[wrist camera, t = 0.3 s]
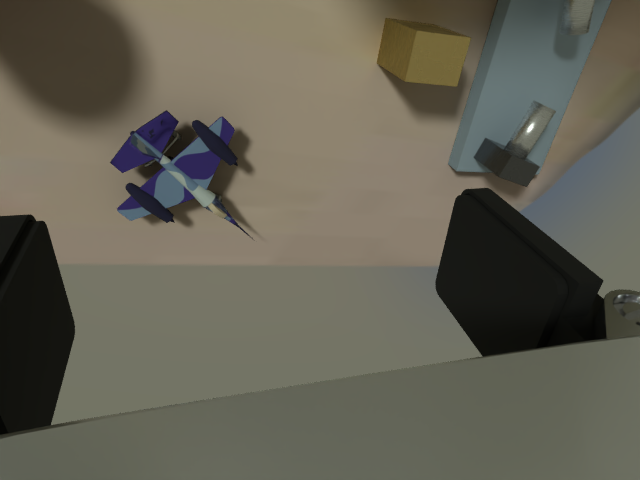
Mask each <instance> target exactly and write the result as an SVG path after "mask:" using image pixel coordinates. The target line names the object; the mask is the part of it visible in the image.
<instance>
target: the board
mask: <svg viewBox="0 0 640 480" xmlns="http://www.w3.org/2000/svg"><path fill="white" fill-rule="evenodd" d="M564 2H565V0H498V2H497V5H496V9H495V12H494V15H493V18H492V22H491V25H490V28H489V32H488V35H487V38H486V41H485V45H484V48H483V51H482V54H481V58H480V61H479V64H478V68H477V71H476V74H475V77H474V81H473V84H472V87H471V90H470V94H469V97H468V100H467V104H466V107H465V110H464V113H463V117H462V120H461V123H460V126H459V130H458V133H457V136H456V139H455V143H454V146H453V149H452V153H451V156H450V159H449V162H448V164H449V165H450V166H451V167H452V168H453V169H455V170H456V171H466V172H492V171H490V170H489V169H488V168H487V167H485V166H484V165H483V164H481V163H480V162H479V161H477V160H476V159H475V158H474V156H475V154H476V152H477V151H478V149H479V147H480V146H481V144H482V142H483V141H484V139H485V138H488V139H490V140H493V141H495V142H498V143H500V144H502V145H505V146H506V145H507V143H508V141H509V140H510V138H511V136H512V135H513V133H514V132H515V130H516V128H517V127H518V125H519V123H520V122H521V120H522V118H523V117H524V115H525V114H526V112H527V110H528V109H529V107H530V105H531V104H532V102H533V101H536V102H538V103H540V104H542V105H545V106H547V107H549V108H551V109H553V110H555V111H556V112H555V114H554V115H553V117H552V119H551V120H550V122H549V123H548V125H547V126H546V128H545V129H544V131H543V133H542V134H541V136H540V137H539V139H538V140H537V142H536V143H535V145H534V147H533V148H532V150H531V151H530V153H529V154H528V156H527V158H528V159H529V160H531V161H532V162H534V163H535V164H537V165H539V166H540V168H539V169H538V171H537V172H536V174H539V172H540V170H541V168H542V165H543V163H544V160H545V158H546V156H547V153H548V151H549V148H550V146H551V144H552V141H553V139H554V136H555V134H556V132H557V129H558V127H559V125H560V122H561V120H562V117H563V115H564V113H565V110H566V108H567V105H568V103H569V101H570V98H571V96H572V93H573V91H574V89H575V86H576V84H577V81H578V79H579V77H580V74H581V72H582V70H583V67H584V65H585V62H586V60H587V58H588V55H589V53H590V50H591V48H592V46H593V43H594V41H595V38H596V36H597V34H598V31H599V29H600V26H601V24H602V22H603V19H604V17H605V15H606V12H607V10H608V7H609V5H610V3H611V0H595V3H594V8H593V13H592V18H591V23H590V27H589V32H588V33H586V34H582V35H563V34H560V33H559V32H560V26H561V20H562V14H563V8H564ZM492 173H493V172H492Z"/></svg>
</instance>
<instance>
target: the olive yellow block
mask: <svg viewBox="0 0 640 480" xmlns="http://www.w3.org/2000/svg"><path fill="white" fill-rule="evenodd" d="M470 40H471V38H470V37H467V36H465V35H462V34H459V33H456V32H453V31H451V30H448V29H445V28H442V27H439V26H437V25H433V24H426V23H419V22H411V21H404V20H397V19H390V18H386V19H385V24H384V29H383V34H382V39H381V44H380V49H379V54H378V59H377V64H379V65H380V66H382V67H383V68H385V69H387V70H388V71H390V72H391V73H393V74H394V75H396V76H397V77H399V78H400V79H402V80H403V81H405V82H414V83H424V84H435V85H445V86H455V87H457V85H458V81H459V78H460V74H461V71H462V67H463V64H464V61H465V57H466V54H467V50H468V47H469V43H470Z"/></svg>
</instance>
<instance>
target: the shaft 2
mask: <svg viewBox="0 0 640 480" xmlns="http://www.w3.org/2000/svg"><path fill="white" fill-rule="evenodd" d="M594 3H595V0H565V2H564V8H563V14H562V20H561V26H560V32H559V33H560V34H563V35H582V34H586V33H588V32H589V27H590V23H591V18H592V13H593V8H594Z"/></svg>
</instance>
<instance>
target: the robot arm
mask: <svg viewBox="0 0 640 480" xmlns="http://www.w3.org/2000/svg"><path fill="white" fill-rule="evenodd" d="M602 283H603V280H602V279H601V278H599V277H598V276H597V275H596V274H595V273H593V272H592V271H591V270H589V268H587V267H586V266H585V265H584V264H582V263H581V262H580V261H578V260H577V259H576V258H575V257H574V256H572V255H571V254H570V253H569V252H567V251H566V250H565V249H564V248H562V247H561V246H560V245H559V244H558V243H556V242H555V241H554V240H552V239H551V238H550V237H549V236H547V235H546V234H545V233H544V232H543V231H541V230H540V229H539V228H538V227H536V226H535V225H534V224H533V223H532V222H530V221H529V220H528V219H527V218H525V217H524V216H523V215H521V214H520V213H519V212H518V211H517V210H515V209H514V208H513V207H512V206H511V205H509V204H508V203H507V202H506V201H504V200H503V199H502V198H501V197H499V196H498V195H497V194H496V193H494V192H493V191H492V190H491V189H489V188H479V189H466V190H464V191H463V192H462V194H461V195H459V196H457V198H456V200H455V203H454V207H453V211H452V215H451V219H450V224H449V228H448V232H447V236H446V240H445V244H444V249H443V253H442V257H441V261H440V265H439V269H438V274H437V278H436V291H437V293H438V295H439V297H440V298H441V299H442V301H443V302H444V303H445V305H446V306H447V308H448V309H449V310H450V312H451V313H452V315H453V316H454V317H455V319H456V320H457V321H458V323H459V324H460V326H461V327H462V328H463V330H464V331H465V332H466V334H467V335H468V337H469V338H470V340H471V341H472V342H473V344H474V345H475V346H476V348H477V349H478V350H479V352H480V353H481V355H482V356H483V357H476V358H470V359H463V360H457V361H450V362H443V363H437V364H430V365H424V366H417V367H412V368H404V369H398V370H391V371H385V372H378V373H372V374H365V375H359V376H353V377H346V378H340V379H333V380H327V381H320V382H314V383H308V384H301V385H295V386H288V387H282V388H276V389H269V390H264V391H257V392H250V393H245V394H238V395H232V396H226V397H219V398H213V399H207V400H200V401H194V402H188V403H182V404H175V405H169V406H163V407H157V408H151V409H144V410H138V411H132V412H125V413H119V414H113V415H107V416H101V417H94V418H88V419H82V420H77V421H71V422H66V423H61V424H56V425H51V422H52V418H53V414H54V411H55V407H56V403H57V400H58V395H59V392H60V388H61V385H62V381H63V377H64V373H65V370H66V365H67V362H68V358H69V355H70V351H71V347H72V343H73V340H74V335H75V325H74V320H73V316H72V312H71V309H70V305H69V302H68V298H67V295H66V291H65V288H64V284H63V281H62V277H61V274H60V270H59V267H58V263H57V260H56V256H55V253H54V249H53V246H52V242H51V239H50V235H49V232H48V228H47V225H46V224H45V222H44V221H36V220H35V218H34V217H33V216H32V215H14V216H0V480H640V292H637V291H632V290H614V291H610V292H609V293H607V294H606V295H605V298H604V299H603V298H602V297H601V296H599V295H598V294H597V293H598V291H599V289H600V287H601V285H602Z"/></svg>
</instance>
